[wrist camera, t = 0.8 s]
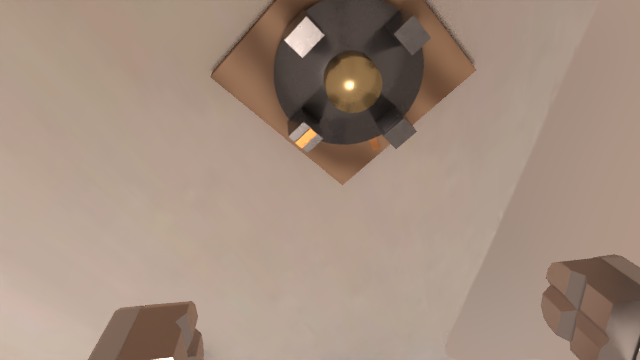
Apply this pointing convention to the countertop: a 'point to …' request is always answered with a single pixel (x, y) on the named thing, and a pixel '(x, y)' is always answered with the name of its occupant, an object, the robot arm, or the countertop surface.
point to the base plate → (260, 97)
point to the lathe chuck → (349, 72)
